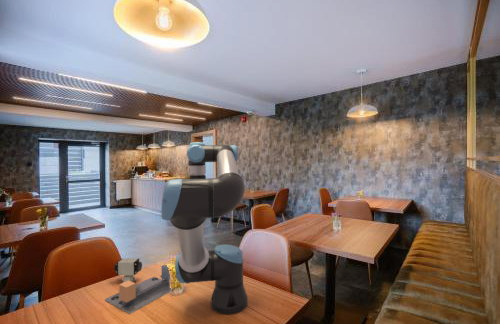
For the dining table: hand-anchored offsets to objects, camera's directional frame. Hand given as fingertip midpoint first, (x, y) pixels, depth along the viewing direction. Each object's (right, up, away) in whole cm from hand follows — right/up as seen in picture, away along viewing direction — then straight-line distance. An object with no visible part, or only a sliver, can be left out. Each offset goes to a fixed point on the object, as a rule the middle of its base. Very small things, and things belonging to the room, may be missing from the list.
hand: (198, 223), depth 118 cm
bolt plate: (-23, -30, -7) cm, 38 cm away
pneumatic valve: (-35, -30, +4) cm, 46 cm away
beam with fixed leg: (-21, -29, -9) cm, 37 cm away
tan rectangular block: (-26, -29, -16) cm, 42 cm away
